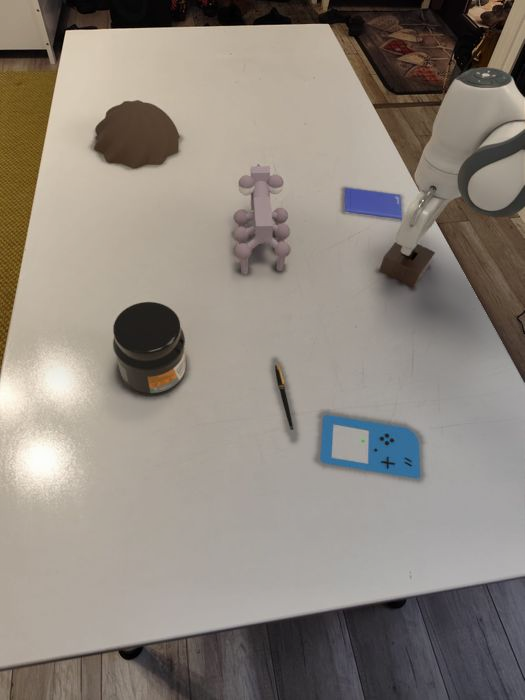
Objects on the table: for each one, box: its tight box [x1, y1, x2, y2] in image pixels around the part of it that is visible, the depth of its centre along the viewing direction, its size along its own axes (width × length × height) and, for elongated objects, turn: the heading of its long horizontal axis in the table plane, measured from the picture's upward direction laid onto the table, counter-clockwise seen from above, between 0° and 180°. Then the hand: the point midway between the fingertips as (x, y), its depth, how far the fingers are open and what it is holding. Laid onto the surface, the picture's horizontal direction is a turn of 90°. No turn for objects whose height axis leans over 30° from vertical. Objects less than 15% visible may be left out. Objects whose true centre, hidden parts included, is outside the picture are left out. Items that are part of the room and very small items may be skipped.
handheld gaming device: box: [319, 414, 421, 479], centre depth 79 cm, size 8×1×15 cm
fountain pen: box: [274, 364, 294, 431], centre depth 82 cm, size 14×1×2 cm, turn 11°
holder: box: [378, 241, 436, 290], centre depth 101 cm, size 7×7×5 cm
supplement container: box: [112, 301, 187, 397], centre depth 79 cm, size 10×10×12 cm
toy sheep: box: [233, 163, 292, 275], centre depth 99 cm, size 20×11×14 cm, turn 3°
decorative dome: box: [93, 99, 180, 170], centre depth 116 cm, size 19×20×10 cm
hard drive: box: [343, 187, 403, 221], centre depth 113 cm, size 2×8×12 cm
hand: (416, 238), depth 95 cm, fingers open, 8 cm apart
